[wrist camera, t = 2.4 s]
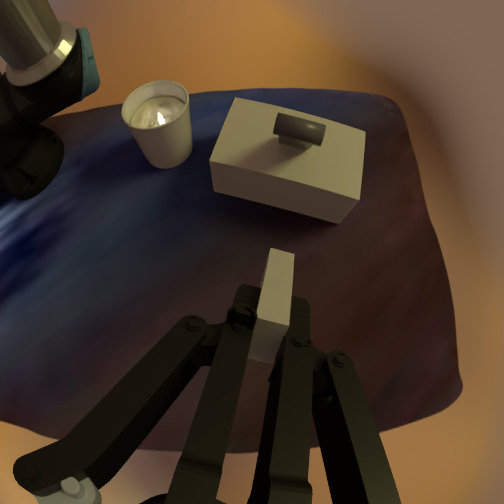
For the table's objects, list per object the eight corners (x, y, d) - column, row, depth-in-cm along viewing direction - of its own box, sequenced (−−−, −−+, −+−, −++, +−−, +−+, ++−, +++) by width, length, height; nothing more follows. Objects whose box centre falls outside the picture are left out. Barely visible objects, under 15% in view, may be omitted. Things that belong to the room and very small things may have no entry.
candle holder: (200, 126, 50) (193, 78, 39) (193, 173, 48) (182, 128, 36) (147, 127, 50) (131, 82, 38) (136, 173, 47) (113, 131, 36)
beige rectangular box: (213, 191, 47) (209, 160, 38) (235, 131, 50) (235, 96, 41) (338, 224, 46) (359, 200, 38) (347, 160, 50) (365, 130, 41)
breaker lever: (274, 144, 39) (272, 132, 28) (278, 128, 39) (278, 110, 28) (310, 154, 39) (321, 145, 28) (314, 137, 39) (327, 123, 28)
